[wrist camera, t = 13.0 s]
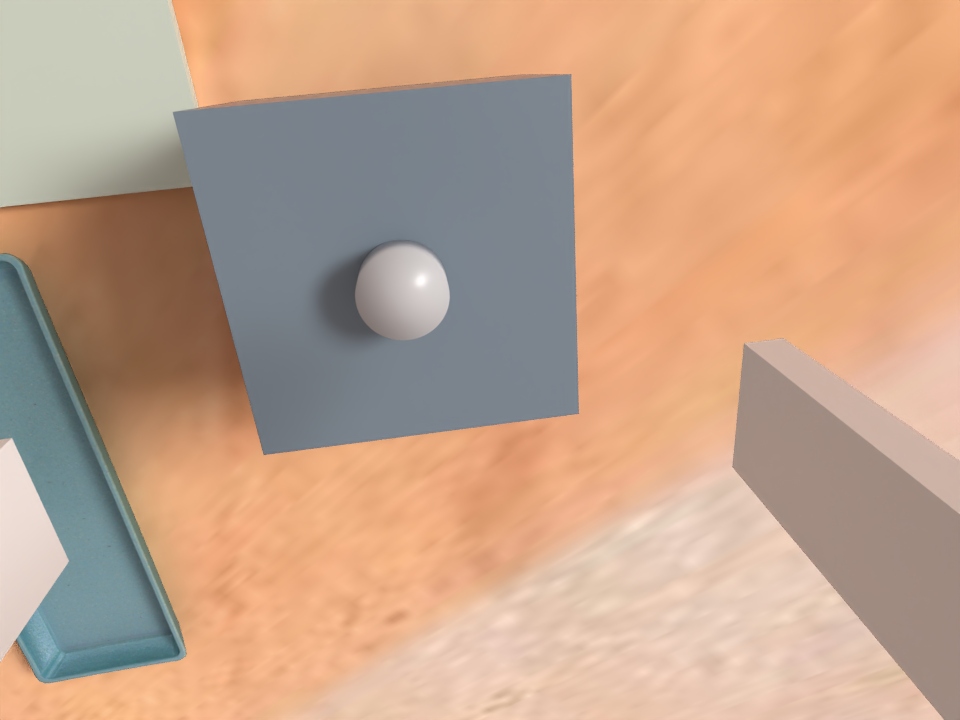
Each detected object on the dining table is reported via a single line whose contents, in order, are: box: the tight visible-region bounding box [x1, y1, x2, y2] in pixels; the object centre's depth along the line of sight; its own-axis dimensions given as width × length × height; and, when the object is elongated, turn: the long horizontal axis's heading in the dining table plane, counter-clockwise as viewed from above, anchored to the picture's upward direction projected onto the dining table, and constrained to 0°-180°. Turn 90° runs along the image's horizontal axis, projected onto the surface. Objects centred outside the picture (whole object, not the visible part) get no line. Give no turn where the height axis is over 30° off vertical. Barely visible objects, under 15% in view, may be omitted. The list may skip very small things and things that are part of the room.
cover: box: [173, 74, 579, 455], centre depth 25 cm, size 12×12×10 cm
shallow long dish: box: [0, 253, 187, 683], centre depth 35 cm, size 26×9×2 cm, turn 7°
